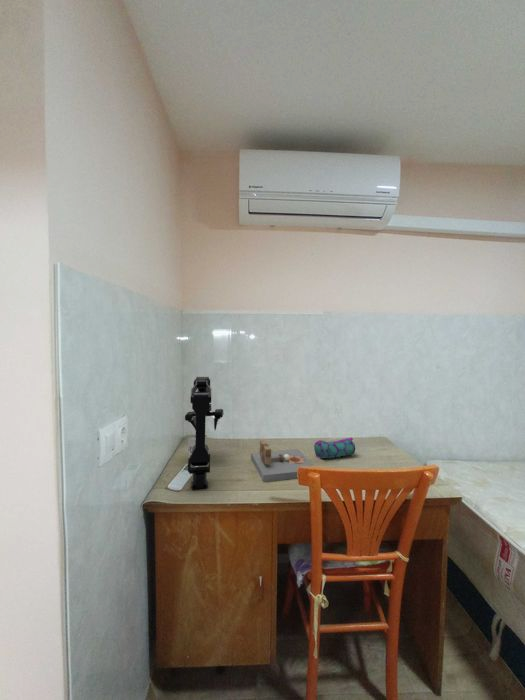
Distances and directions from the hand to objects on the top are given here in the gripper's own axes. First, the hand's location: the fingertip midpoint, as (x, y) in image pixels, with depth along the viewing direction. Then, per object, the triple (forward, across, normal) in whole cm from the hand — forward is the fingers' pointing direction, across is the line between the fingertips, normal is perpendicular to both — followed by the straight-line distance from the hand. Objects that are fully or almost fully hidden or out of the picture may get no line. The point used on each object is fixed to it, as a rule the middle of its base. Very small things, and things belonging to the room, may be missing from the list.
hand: (206, 430), depth 141 cm
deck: (+18, -37, +8) cm, 42 cm away
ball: (+14, -39, +8) cm, 43 cm away
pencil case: (+23, -66, -5) cm, 70 cm away
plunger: (+14, -32, +9) cm, 37 cm away
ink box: (+14, +6, +2) cm, 15 cm away
